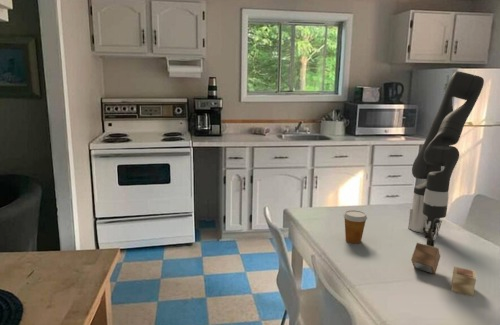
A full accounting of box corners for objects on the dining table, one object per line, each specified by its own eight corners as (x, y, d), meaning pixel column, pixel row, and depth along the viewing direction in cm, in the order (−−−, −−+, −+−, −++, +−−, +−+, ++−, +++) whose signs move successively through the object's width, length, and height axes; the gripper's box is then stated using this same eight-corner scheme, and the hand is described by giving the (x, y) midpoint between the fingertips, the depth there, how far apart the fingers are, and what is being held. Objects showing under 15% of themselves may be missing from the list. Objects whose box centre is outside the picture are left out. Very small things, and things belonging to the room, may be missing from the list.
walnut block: (419, 250, 137) (414, 268, 135) (417, 242, 133) (411, 260, 130) (440, 256, 133) (434, 274, 130) (438, 247, 128) (432, 266, 125)
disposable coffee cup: (366, 238, 160) (368, 211, 158) (363, 246, 152) (365, 218, 149) (344, 234, 164) (346, 208, 162) (339, 242, 155) (341, 214, 153)
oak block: (451, 291, 119) (454, 273, 118) (451, 283, 125) (453, 265, 123) (473, 296, 117) (476, 278, 116) (472, 287, 122) (474, 270, 121)
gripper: (430, 195, 137) (425, 240, 140) (417, 203, 127) (412, 251, 131) (452, 200, 132) (446, 246, 135) (441, 208, 122) (435, 257, 126)
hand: (429, 248), depth 133 cm, fingers closed
